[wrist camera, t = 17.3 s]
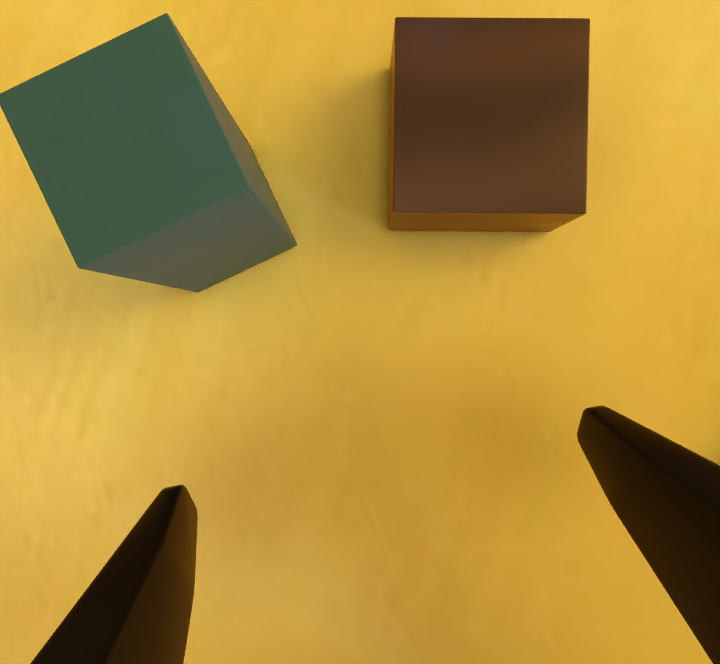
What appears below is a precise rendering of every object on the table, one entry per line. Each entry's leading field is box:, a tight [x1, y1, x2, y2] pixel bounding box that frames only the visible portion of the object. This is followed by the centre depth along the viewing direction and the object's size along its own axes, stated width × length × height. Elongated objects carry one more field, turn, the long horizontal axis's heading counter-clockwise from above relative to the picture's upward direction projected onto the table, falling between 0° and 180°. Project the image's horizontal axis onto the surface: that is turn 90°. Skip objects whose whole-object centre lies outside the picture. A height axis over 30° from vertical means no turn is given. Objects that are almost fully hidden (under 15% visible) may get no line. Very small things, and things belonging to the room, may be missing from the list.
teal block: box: [0, 13, 297, 292], centre depth 17 cm, size 6×6×9 cm
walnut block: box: [388, 17, 590, 232], centre depth 19 cm, size 8×8×4 cm
